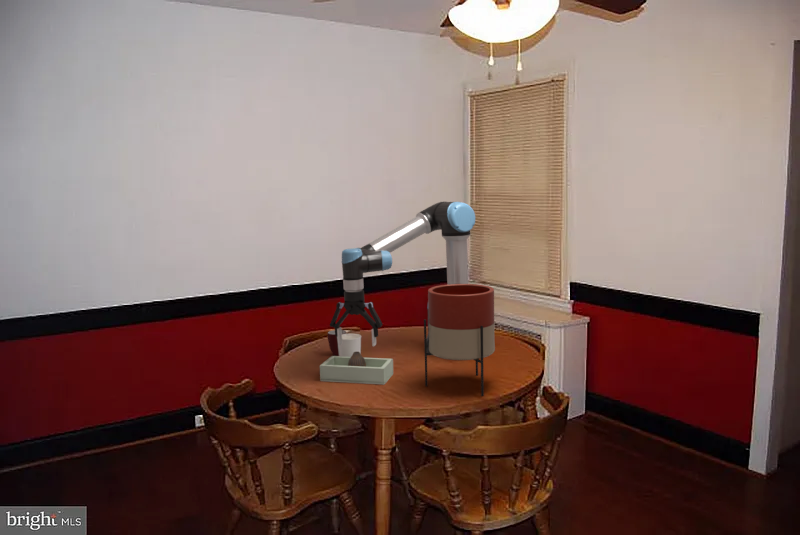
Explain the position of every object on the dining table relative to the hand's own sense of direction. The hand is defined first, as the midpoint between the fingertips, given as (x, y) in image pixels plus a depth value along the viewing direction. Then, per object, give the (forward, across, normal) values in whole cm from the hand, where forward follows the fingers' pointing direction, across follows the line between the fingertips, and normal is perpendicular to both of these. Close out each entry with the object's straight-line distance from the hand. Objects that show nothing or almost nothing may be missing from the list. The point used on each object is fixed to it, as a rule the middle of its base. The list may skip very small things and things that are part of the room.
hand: (357, 345), depth 240 cm
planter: (+14, -39, +4) cm, 42 cm away
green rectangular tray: (+13, +1, 0) cm, 13 cm away
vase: (+12, +1, 0) cm, 12 cm away
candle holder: (+13, +9, -14) cm, 21 cm away
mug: (+13, +18, -28) cm, 36 cm away
